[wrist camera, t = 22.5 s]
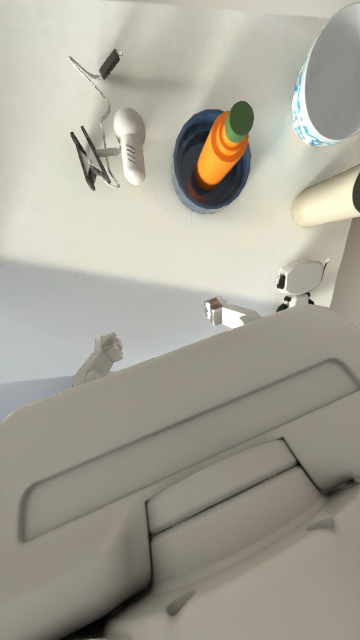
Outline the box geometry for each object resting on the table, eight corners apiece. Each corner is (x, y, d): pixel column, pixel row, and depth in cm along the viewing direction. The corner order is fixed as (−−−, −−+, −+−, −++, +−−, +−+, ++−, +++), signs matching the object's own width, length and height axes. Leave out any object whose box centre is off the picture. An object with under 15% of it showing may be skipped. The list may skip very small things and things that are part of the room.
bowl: (164, 202, 35) (165, 195, 31) (181, 115, 31) (185, 92, 27) (226, 223, 38) (234, 218, 34) (249, 145, 34) (262, 130, 30)
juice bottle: (190, 185, 34) (213, 137, 21) (198, 151, 33) (228, 76, 19) (216, 194, 36) (252, 155, 22) (224, 162, 34) (270, 99, 20)
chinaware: (345, 51, 31) (403, -11, 24) (339, 153, 37) (385, 127, 29) (269, 72, 31) (303, 16, 23) (274, 172, 36) (304, 151, 29)
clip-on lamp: (75, 87, 30) (91, 197, 33) (48, 32, 24) (71, 173, 26) (141, 82, 30) (152, 191, 33) (131, 25, 24) (146, 166, 26)
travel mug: (302, 235, 41) (401, 219, 25) (284, 209, 39) (382, 171, 22) (328, 208, 40) (453, 171, 23) (312, 179, 37) (438, 114, 21)
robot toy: (306, 309, 50) (316, 255, 43) (320, 314, 46) (333, 256, 39) (267, 317, 49) (270, 263, 42) (277, 324, 45) (283, 265, 38)
